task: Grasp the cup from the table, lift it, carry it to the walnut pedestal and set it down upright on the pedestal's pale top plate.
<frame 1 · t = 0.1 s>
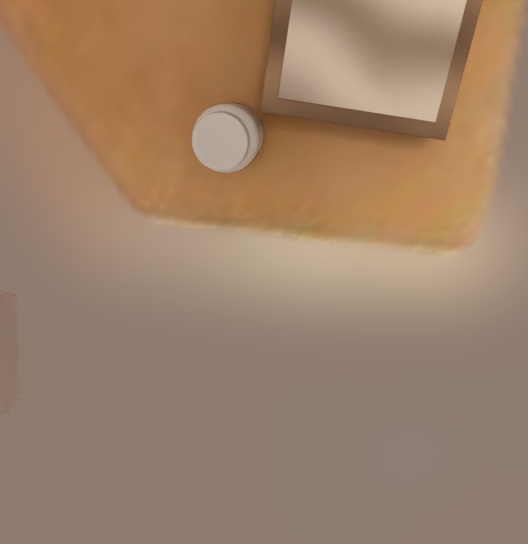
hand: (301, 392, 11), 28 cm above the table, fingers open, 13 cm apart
pill bottle: (235, 133, 36), on the table
pedestal: (363, 33, 33), on the table
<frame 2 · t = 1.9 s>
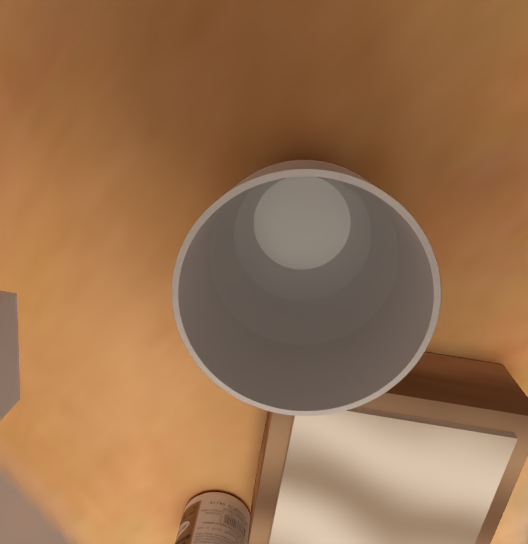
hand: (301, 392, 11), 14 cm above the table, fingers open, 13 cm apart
pill bottle: (218, 513, 31), on the table
pedestal: (367, 436, 28), on the table
cup: (301, 221, 24), on the table
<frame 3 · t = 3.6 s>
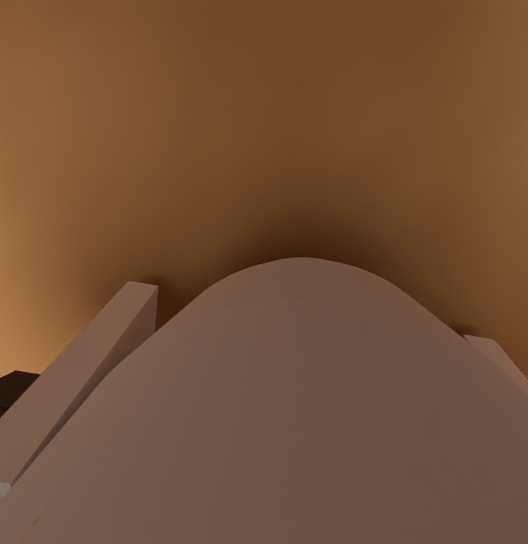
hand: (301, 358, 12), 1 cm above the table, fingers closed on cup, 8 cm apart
cup: (300, 341, 13), on the table, touching gripper
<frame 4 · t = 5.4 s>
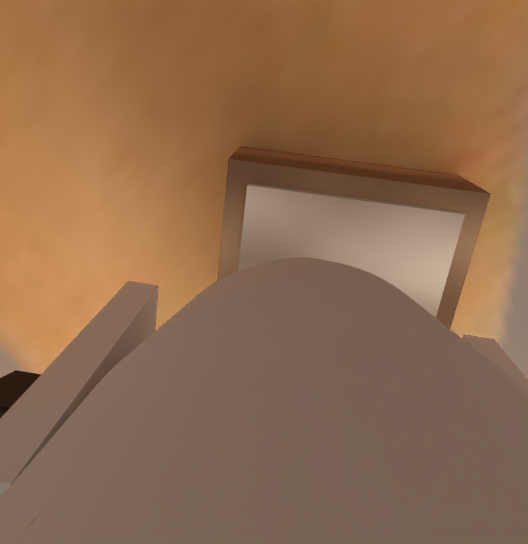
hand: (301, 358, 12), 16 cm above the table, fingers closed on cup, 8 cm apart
pedestal: (330, 263, 28), on the table
cup: (299, 341, 13), point 15 cm above the table, touching gripper
when the fingers open (6 cm above the table, at t = 7.3 s): cup stays where it is, resting on pedestal.
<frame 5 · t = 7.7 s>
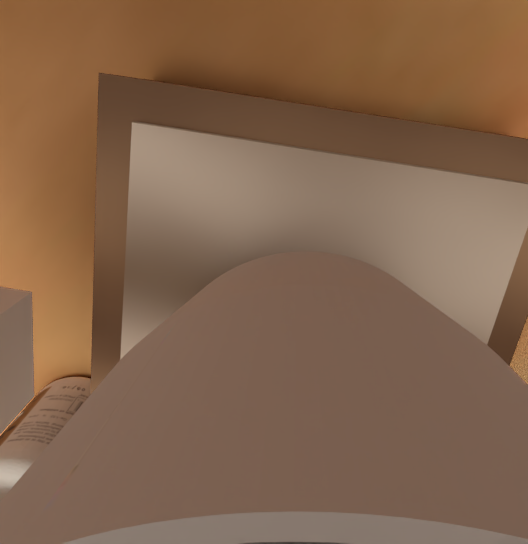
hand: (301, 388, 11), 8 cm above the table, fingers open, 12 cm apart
pill bottle: (87, 414, 21), on the table
pedestal: (299, 275, 18), on the table
cup: (302, 333, 13), point 5 cm above the table, touching pedestal
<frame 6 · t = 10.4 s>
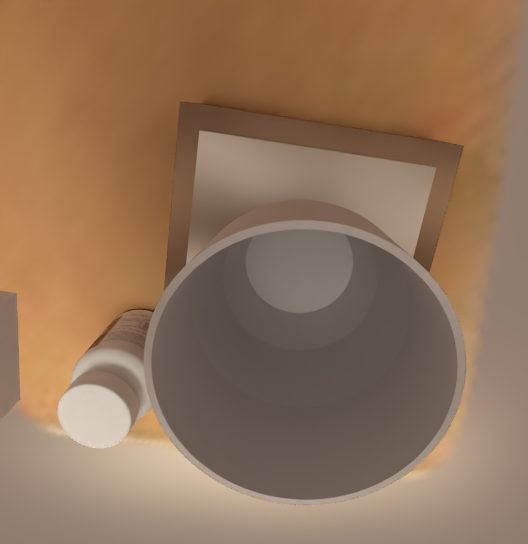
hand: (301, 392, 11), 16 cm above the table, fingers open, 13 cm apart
pill bottle: (145, 339, 29), on the table
pedestal: (297, 234, 26), on the table
cup: (298, 260, 22), point 5 cm above the table, touching pedestal
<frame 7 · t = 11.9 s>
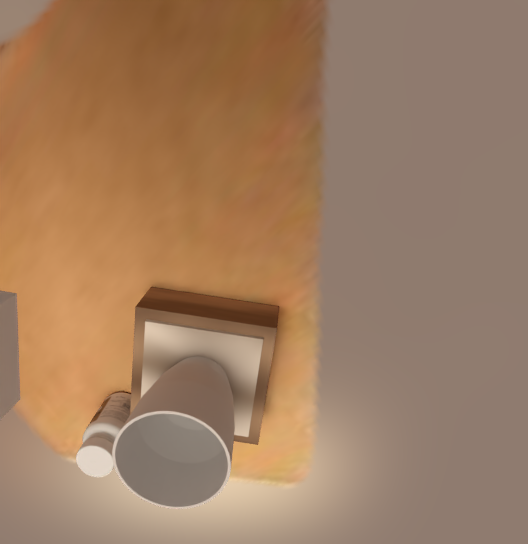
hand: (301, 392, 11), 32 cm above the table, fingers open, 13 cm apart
pill bottle: (124, 408, 50), on the table
pedestal: (208, 353, 47), on the table
cup: (199, 380, 42), point 5 cm above the table, touching pedestal
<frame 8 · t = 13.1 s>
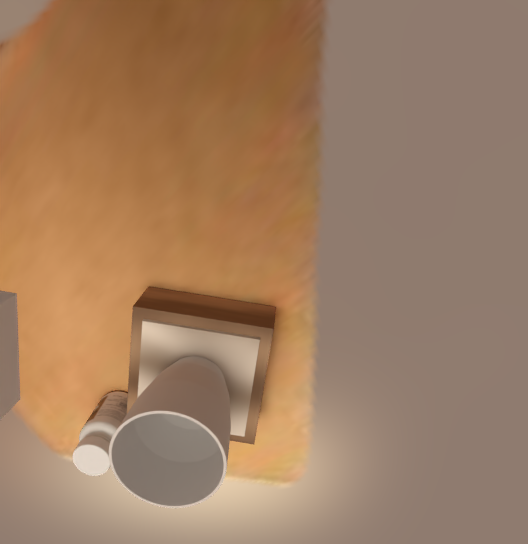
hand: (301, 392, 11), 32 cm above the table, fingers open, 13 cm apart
pill bottle: (121, 406, 50), on the table
pedestal: (205, 352, 47), on the table
cup: (196, 379, 42), point 5 cm above the table, touching pedestal
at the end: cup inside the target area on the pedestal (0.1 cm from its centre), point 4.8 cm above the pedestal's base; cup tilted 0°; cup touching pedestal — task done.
